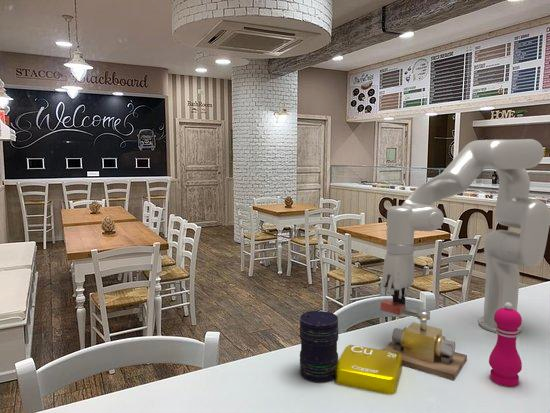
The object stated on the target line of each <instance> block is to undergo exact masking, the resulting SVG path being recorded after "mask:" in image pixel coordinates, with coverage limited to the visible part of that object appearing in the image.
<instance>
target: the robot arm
mask: <svg viewBox="0 0 550 413" xmlns="http://www.w3.org/2000/svg"><path fill="white" fill-rule="evenodd" d="M544 154H545V153H544V147H543V145H542V144H541V143H540V142H539V141H537V140H535V139H532V138H525V139H524V138H522V139H521V138H520V139H519V138H518V139H478V140H473V141H470V142H469V143H467V144H466V145H465V146H464V147H463V148H462V149H461V151H459V153H457V155H456V156H455V157H454V158H453V159H452V161H451V162H449V164H448V165H446V166H447V167H445V169H444V170H443V171H442V172H441V173H440V174H438V175H436V176H434V177H433V178H431V179H430V180H427V181H426V182H425V183H423V184H421V185H419V186H418V187H417V188H416V189H415V190H413V192H411V193H410V194H409V196H408V197H407V198H406V199H405V200H404V201H403V202H402V204H401V205H393V206H390V207H388V209H387V212H386V254H385V255H384V261H383V270H382V278H381V279H382V282H381V283H382V287H383V288H387V289H386V294H388V295H391V297H392V301H394V302H397V303H401V304H405V305H406V297H407V294H408V290H409V288H411V286H412V285H413V283H414V280H415V259H414V247H415V244H414V243H415V232H416V231H418V232H434V231H437V230H439V229H440V228H441V227H442V225H443V224H444V219H445V217H444V213H443V212H442V210H441V209H439V207H436V206H434V205H433V204H435V203H436V202H438V201H441V200H443V199H448V198H451V197H454V196H457V195H460V194H463V193H465V192H466V191H467V190H468V188H470V186H471V185H472V184H473V183H474V181H475V180H476V179H477V178H478V177H479V175H481V173H482V172H484V170H495V172H496V173H497V175H498V176H497V177H498V179H499V180H498V181H499V182H498V183H499V184H498V190H497V191H498V192H497V197H496V202H495V210H494V219H495V221H496V222H497V223H498V224H499V225H501V226H504V227H505V226H506V227H509V228H513V229H518V230H519V229H520V233H519V232H516V231H511V230H506V229H505V230H504V229H495V230H492V231H489V233H488V234H487V235H486V236H485V238H484V241H483V251H484V257H485V284H484V285H485V286H484V287H485V288H484V303H483V308H484V309H483V316H481V317H479V318H478V320H477V322H478V325H479V327H481V328H483V329H484V330H486V331H489V332H494V333H496V326H497V324H496V323H495V321H494V315H495V312H496V311H497V310H498V309H500V308H505V306H504V305H505V303H507V302H509V303H511V304H512V305H513V308H512V309H514V310H516V311H517V312H518V307H519V306H518V303H519V287H520V271H519V267H518V266H520V267H524V268H532V267H536V266H537V265H539V264H540V263H541V262H542V260H543V258H544V255H545V251H546V247H547V242H548V235H549V230H550V208H549V206H548V205H547V203H545V202H544V201H542V200H540V199H537V198H530V197H529V196H530V187H531V179H530V176H529V173H528V171H527V170H526V169H532V168H535V167H536V166H538V165H539V164H540V163H541V162H542V160H543V158H544ZM522 329H523V326H522V325H521V326H520V327H519V328H518V330H519V332H518V334H519V333H520V332H522Z"/></svg>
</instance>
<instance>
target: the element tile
mask: <svg viewBox="0 0 550 413" xmlns="http://www.w3.org/2000/svg"><path fill="white" fill-rule="evenodd" d="M402 370H403V365H402V355H401V354H400V353H397V352H391V351H385V350H382V349H378V348H371V347H368V346H367V347H366V346H361V345H354V344H353V345H352V344H348V345H347V346H345V348H344V350H343V351H342V353H341V354H340V356H339V357H338V361H337V363H336V365H335V379H334V382H335V383H336V384H338V385H341V386H345V387H351V388H355V389H361V390H365V391H369V392H374V393H375V392H376V393H379V394H384V395H393V394H395V393H396V392H397V390H398V386H399V382H400V378H401V375H402Z"/></svg>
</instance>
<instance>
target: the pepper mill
mask: <svg viewBox="0 0 550 413" xmlns="http://www.w3.org/2000/svg"><path fill="white" fill-rule="evenodd" d="M504 306H505V308H500V309H498V310H497V311H496V312H495V315H494V321H495V323H496V324H497V326H496V332H495V333H496V334H497V337H496V338H497V339H496V344H495V345H494V347H493V349H492V351H491V352H490V354H489V358H488V364H489V366H490V368H491V369H490V374H489V378H490V379H491V381H492V382H494V383H495V384H497V385H500V386H504V387H515V386H518V385H519V381H520V380H519V379H520V375H519V374H520V373H521V371H522V368H523V364H522V360H521V357H520V354H519V352H518V349H517V337H519V335H520V334H519V333H520V332H519V330H518V328H519V327H520V326H522V323H523V320H522V316H521V314H520V312H518V310H517V311H516V310H514V309H512V308H513V305H512V304H511V303H509V302H507V303H505V305H504ZM518 332H519V333H518Z"/></svg>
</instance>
